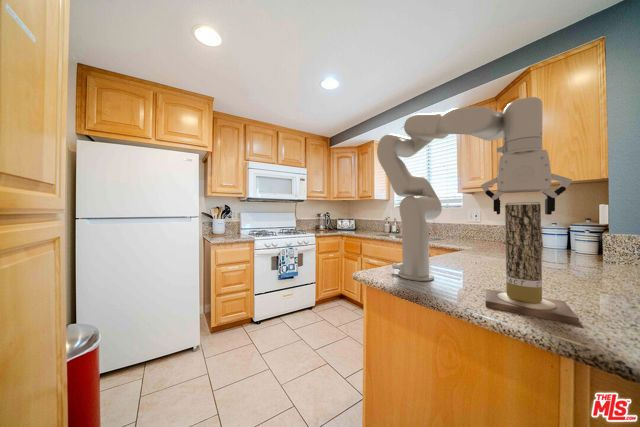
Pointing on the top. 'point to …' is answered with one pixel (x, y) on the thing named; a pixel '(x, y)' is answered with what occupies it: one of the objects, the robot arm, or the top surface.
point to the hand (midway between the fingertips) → (522, 214)
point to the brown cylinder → (523, 251)
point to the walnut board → (532, 307)
